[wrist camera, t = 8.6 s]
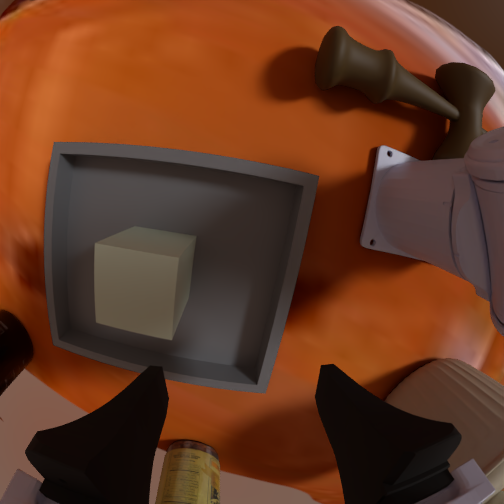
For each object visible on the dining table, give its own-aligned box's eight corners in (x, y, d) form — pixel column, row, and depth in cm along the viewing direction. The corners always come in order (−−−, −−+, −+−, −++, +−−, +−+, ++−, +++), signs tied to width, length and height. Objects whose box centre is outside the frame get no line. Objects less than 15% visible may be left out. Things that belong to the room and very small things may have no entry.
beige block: (196, 235, 18) (179, 258, 12) (189, 297, 19) (171, 340, 13) (134, 226, 18) (94, 242, 12) (130, 286, 19) (95, 322, 13)
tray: (306, 177, 19) (319, 176, 16) (262, 370, 22) (265, 393, 19) (75, 146, 17) (54, 142, 14) (69, 329, 20) (53, 345, 17)
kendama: (317, 26, 16) (485, 111, 18) (300, 123, 18) (480, 193, 20) (337, -12, 10) (522, 105, 12) (321, 101, 13) (521, 200, 14)
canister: (455, 300, 22) (599, 404, 1) (475, 379, 26) (553, 459, 5) (320, 412, 24) (383, 589, 3) (379, 457, 28) (428, 560, 7)
